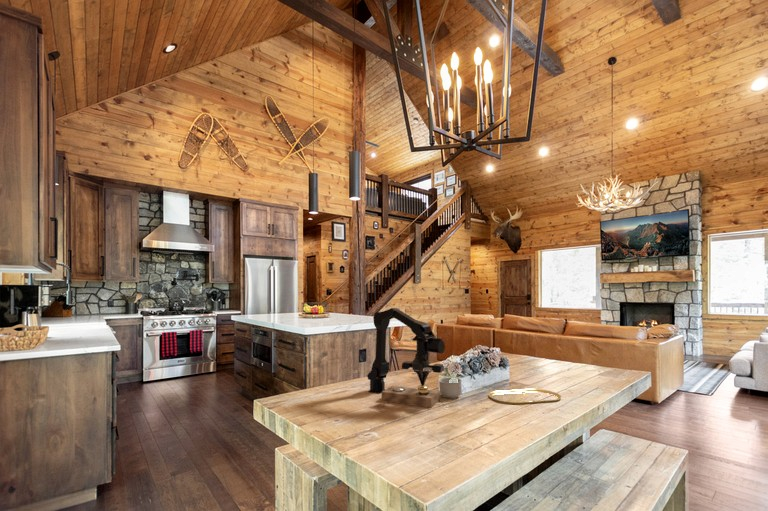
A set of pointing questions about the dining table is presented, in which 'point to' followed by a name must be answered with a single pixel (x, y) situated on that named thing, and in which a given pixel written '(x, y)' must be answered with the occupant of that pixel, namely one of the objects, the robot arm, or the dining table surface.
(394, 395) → the walnut block
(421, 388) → the brass plug
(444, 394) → the teacup
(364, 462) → the dining table surface
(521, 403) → the gold ring
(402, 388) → the grey plug
